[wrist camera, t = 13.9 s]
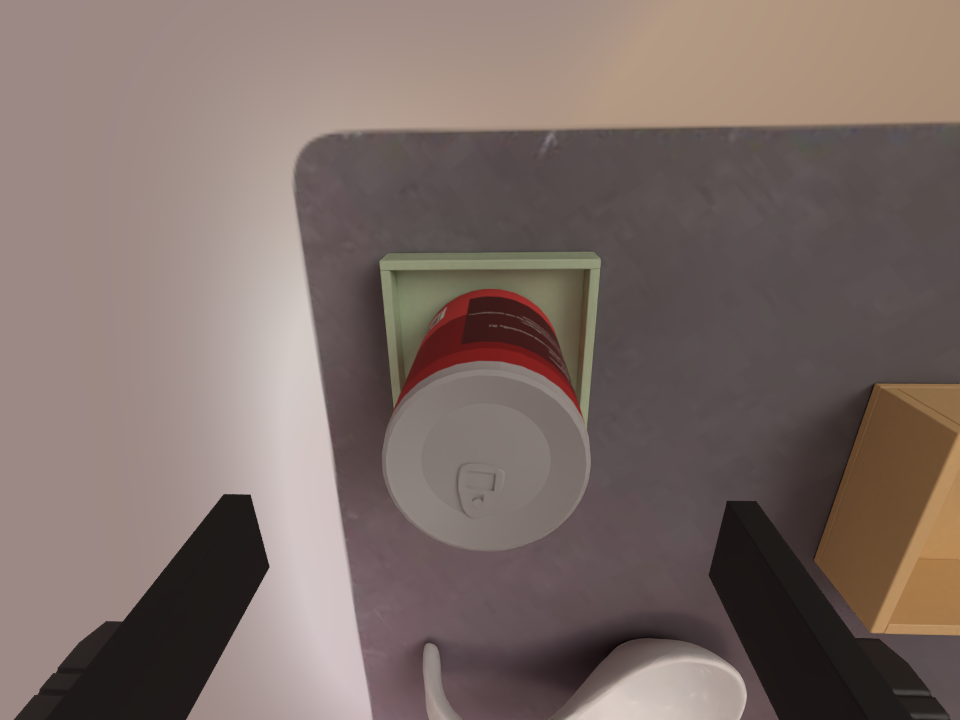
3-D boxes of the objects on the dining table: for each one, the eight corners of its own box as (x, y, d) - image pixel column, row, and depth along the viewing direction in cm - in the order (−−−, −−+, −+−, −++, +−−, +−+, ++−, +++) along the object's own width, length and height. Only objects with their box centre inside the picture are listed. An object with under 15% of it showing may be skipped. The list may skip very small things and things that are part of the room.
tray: (387, 253, 26) (378, 260, 24) (593, 251, 25) (601, 259, 23) (403, 429, 30) (397, 447, 28) (579, 430, 30) (585, 448, 28)
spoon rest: (740, 610, 35) (795, 715, 29) (714, 711, 40) (756, 822, 33) (420, 607, 36) (402, 707, 30) (431, 705, 41) (418, 811, 34)
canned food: (436, 420, 29) (404, 561, 19) (410, 293, 26) (354, 382, 16) (563, 406, 28) (599, 545, 18) (551, 274, 25) (586, 355, 15)
